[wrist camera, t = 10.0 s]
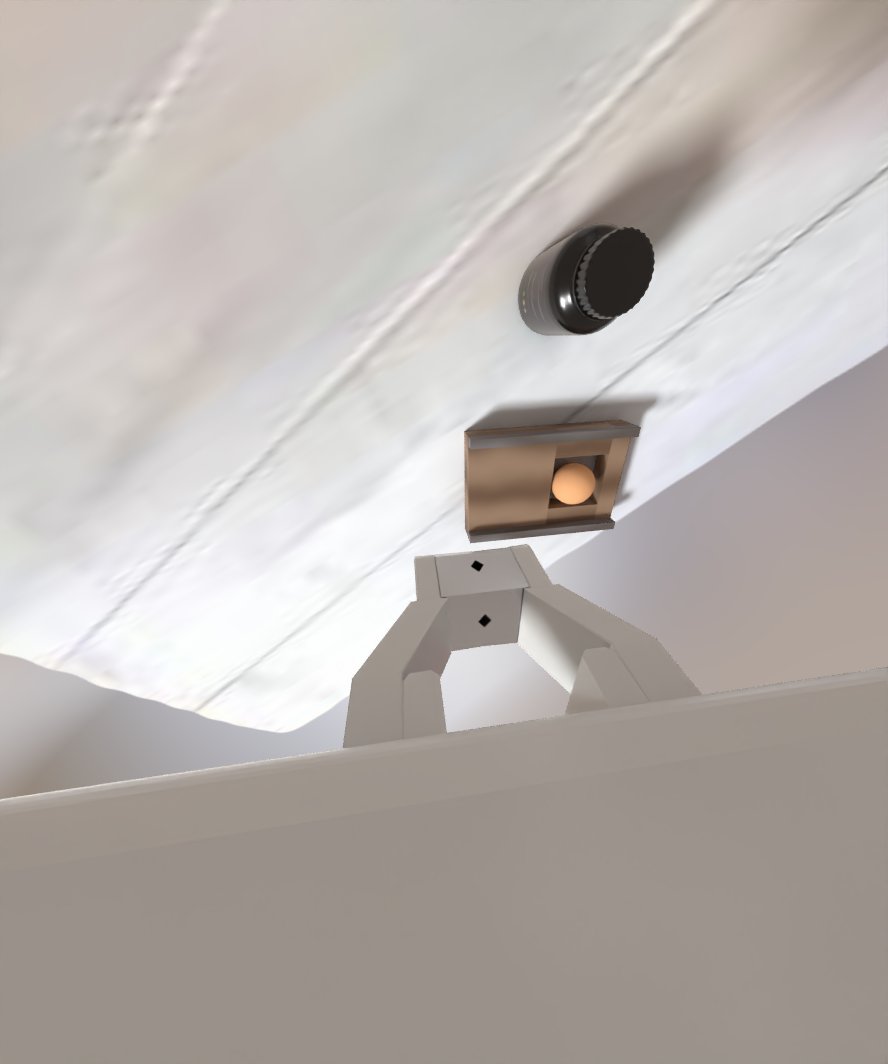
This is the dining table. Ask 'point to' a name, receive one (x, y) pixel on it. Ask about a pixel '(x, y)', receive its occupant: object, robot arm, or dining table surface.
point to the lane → (539, 478)
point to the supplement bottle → (586, 280)
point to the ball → (573, 483)
